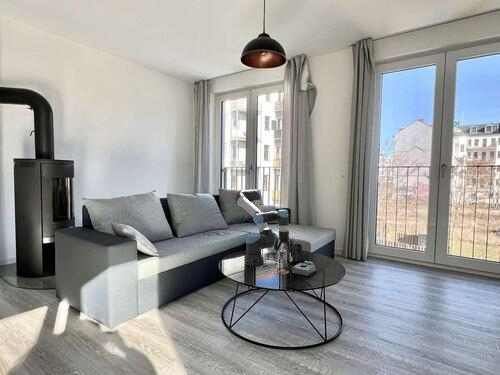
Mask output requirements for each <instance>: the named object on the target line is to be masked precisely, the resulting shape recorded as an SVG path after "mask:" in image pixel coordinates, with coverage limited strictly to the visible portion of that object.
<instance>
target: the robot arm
mask: <svg viewBox="0 0 500 375" xmlns="http://www.w3.org/2000/svg"><path fill="white" fill-rule="evenodd" d="M261 194H262V193H260V191H259V190H258V189H243V190H239V191H237V192H236V194H235V196H234V201H235V204H236V205H237V206H238V207H242V208H243V209H244V211H246V212H247V213H248V214H249V215H250V216H251V217H252V220H253V223H255V225H256V226H257V230H258V232H255V233H250V234H248V235H247V236H246V238H245V243H246V255H245V260H244V265H245V264H246V265H245V266H247V265H248V266H247V267H260V266H263V265H264V264H265V260H264V256H263V255H262V250H263V249H266V248H272V247H274V250H276V253H275V254H276V256H277V257H276V258H277V260H280V259H281V250H279V248H280V246H281V244H282V243H284V245H286V247H287V248H288V249H287V250H288V251H289V250H290V259H289V263H290V262H294V261H293V258H292V257H293V252H295V251H296V250H295V247H294V244H295V243H294V239H293V238H292V237H290V230H289V229H290V227H289V224H290V223H289V211H288V210H287V209H278V210H277V211H275V210H271V211H269V212H263V209H262V206H261V201H262V195H261ZM273 222H277V223H278V224H277V225H278V233H279V237H277V234H276V233H275V232H276V231H275V232H272V231H273V230H272V229H271V228H270V227H269V224H268V223H273ZM279 240H280V242H279V244H278V241H279Z"/></svg>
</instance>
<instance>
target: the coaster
mask: <svg viewBox="0 0 500 375" xmlns="http://www.w3.org/2000/svg"><path fill="white" fill-rule="evenodd" d="M277 273H278V274H280V275H287V274H289V273H290V270H288V269H279V270H277Z"/></svg>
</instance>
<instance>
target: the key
mask: <svg viewBox="0 0 500 375" xmlns="http://www.w3.org/2000/svg"><path fill="white" fill-rule="evenodd" d="M288 252H289V249H287V250H285V249H282V251H281V255H282V269H288V256H287V255H288Z"/></svg>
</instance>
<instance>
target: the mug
mask: <svg viewBox="0 0 500 375" xmlns="http://www.w3.org/2000/svg"><path fill="white" fill-rule="evenodd" d="M293 244H294V247H295V250H296V251H295V252H293V257H292V258H293V261H292V262H302V260H303V244H302V243H293ZM284 250H288V252H289V253H288V254H287V258H289V260H290V250H289V249H288V247H287V248H286V247H285V249H284Z"/></svg>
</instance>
